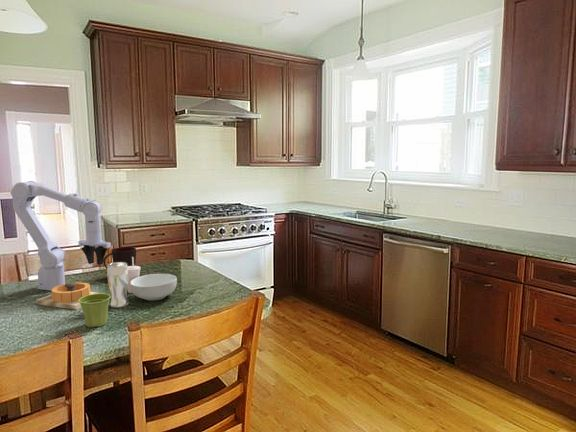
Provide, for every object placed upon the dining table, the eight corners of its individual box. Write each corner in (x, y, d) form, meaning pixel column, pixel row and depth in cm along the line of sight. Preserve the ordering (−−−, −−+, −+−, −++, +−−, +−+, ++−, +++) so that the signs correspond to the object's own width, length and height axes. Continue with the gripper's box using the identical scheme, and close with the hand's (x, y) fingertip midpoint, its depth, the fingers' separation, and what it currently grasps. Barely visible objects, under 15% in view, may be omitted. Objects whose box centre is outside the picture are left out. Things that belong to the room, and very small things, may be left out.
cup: (140, 275, 191) (139, 249, 189) (108, 281, 182) (106, 254, 181) (132, 271, 199) (131, 245, 197) (101, 276, 190) (99, 250, 188)
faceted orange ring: (44, 300, 155) (43, 290, 154) (71, 289, 167) (70, 281, 166) (72, 303, 151) (71, 294, 151) (97, 293, 163) (97, 284, 162)
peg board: (36, 303, 155) (35, 287, 154) (67, 292, 169) (66, 276, 168) (76, 309, 150) (74, 292, 149) (104, 297, 163) (103, 281, 162)
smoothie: (136, 294, 166) (134, 259, 164) (121, 293, 167) (119, 258, 165) (144, 289, 172) (143, 255, 170) (130, 288, 173) (128, 254, 171)
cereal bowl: (153, 288, 174) (153, 271, 173) (186, 293, 167) (185, 276, 166) (121, 300, 159) (120, 282, 158) (155, 307, 152) (154, 288, 151)
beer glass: (117, 309, 150) (115, 267, 148) (105, 305, 154) (102, 265, 152) (134, 303, 156) (131, 263, 154) (121, 300, 160) (119, 260, 157)
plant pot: (73, 326, 135) (71, 300, 134) (97, 316, 144) (95, 291, 142) (95, 331, 131) (93, 304, 130) (118, 321, 140) (117, 295, 139)
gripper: (115, 230, 174) (117, 263, 176) (86, 228, 179) (89, 260, 181) (102, 233, 168) (104, 267, 170) (73, 231, 172) (75, 264, 174)
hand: (95, 263), depth 175 cm, fingers open, 4 cm apart
